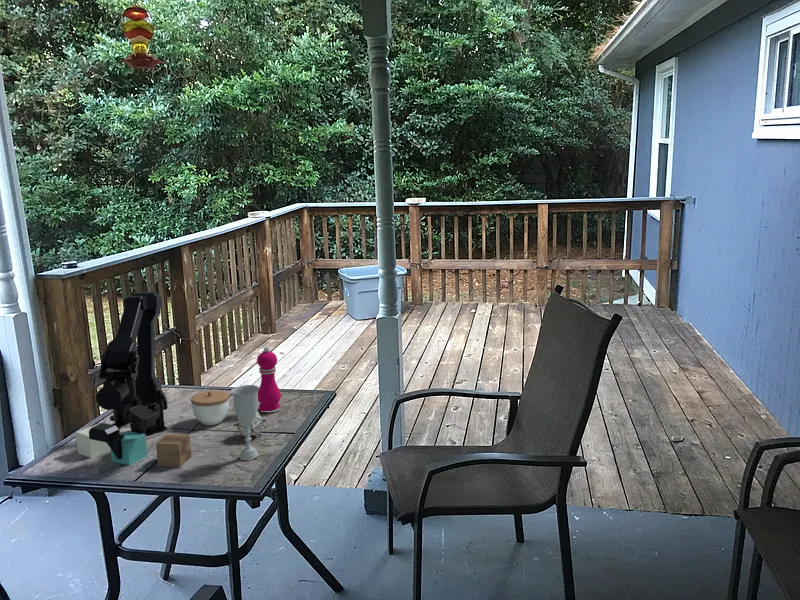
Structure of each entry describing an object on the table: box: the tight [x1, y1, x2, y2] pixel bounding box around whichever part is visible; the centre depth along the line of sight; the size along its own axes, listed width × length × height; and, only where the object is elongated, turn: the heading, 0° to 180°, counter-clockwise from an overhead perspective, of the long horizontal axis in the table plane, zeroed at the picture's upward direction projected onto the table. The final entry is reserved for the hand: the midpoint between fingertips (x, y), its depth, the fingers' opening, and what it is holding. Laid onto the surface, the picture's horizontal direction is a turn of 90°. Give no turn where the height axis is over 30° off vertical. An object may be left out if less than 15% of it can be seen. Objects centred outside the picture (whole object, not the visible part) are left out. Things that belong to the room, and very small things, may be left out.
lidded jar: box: [190, 389, 230, 426], centre depth 192 cm, size 11×11×9 cm
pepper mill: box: [256, 346, 282, 412], centre depth 200 cm, size 7×7×20 cm
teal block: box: [110, 430, 148, 466], centre depth 168 cm, size 6×6×6 cm
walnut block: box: [155, 433, 192, 468], centre depth 166 cm, size 6×6×6 cm
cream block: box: [75, 424, 111, 459], centre depth 172 cm, size 6×6×6 cm
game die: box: [232, 410, 267, 440], centre depth 181 cm, size 9×8×10 cm
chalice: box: [230, 384, 260, 460], centre depth 167 cm, size 7×7×18 cm
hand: (129, 454), depth 168 cm, fingers closed on teal block, 6 cm apart
